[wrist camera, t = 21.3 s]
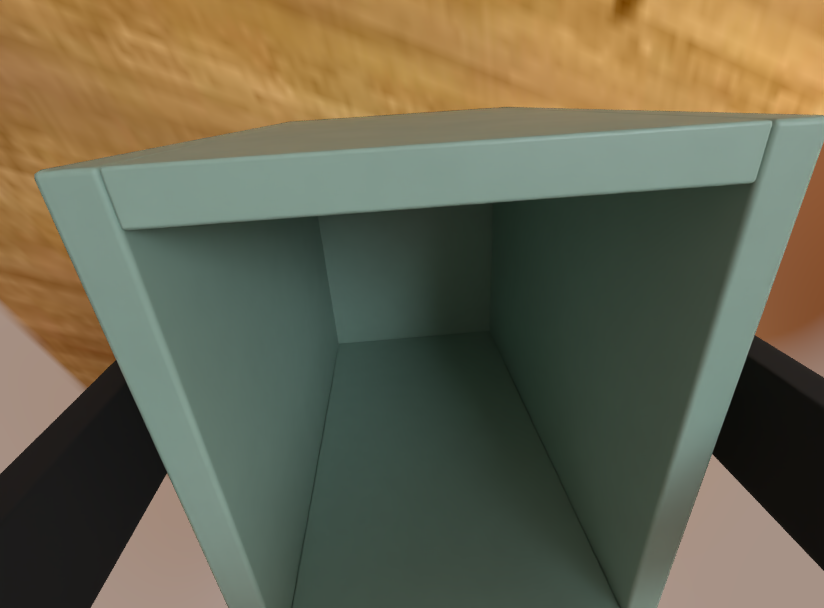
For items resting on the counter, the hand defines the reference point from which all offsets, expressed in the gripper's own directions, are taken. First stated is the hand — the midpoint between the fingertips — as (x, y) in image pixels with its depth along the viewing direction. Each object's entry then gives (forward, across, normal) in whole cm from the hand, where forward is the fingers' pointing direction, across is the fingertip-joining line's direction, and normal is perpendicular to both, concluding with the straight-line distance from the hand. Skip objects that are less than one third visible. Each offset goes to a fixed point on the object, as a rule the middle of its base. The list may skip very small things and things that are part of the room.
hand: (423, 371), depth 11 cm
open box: (+4, 0, 0) cm, 4 cm away
